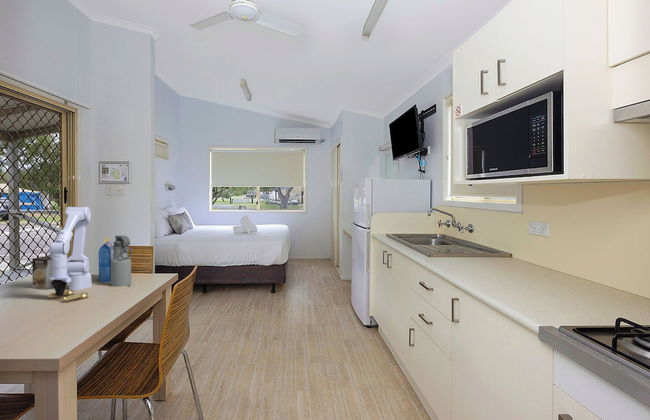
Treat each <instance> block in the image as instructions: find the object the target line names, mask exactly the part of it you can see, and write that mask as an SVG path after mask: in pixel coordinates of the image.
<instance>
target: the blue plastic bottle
mask: <svg viewBox="0 0 650 420" xmlns="http://www.w3.org/2000/svg"><path fill="white" fill-rule="evenodd" d="M112 259H114V245H113V244H112V243H111V242H109V237H108V236H107V237H106V238H104V244H103V245H102V246H101V247H100V248H99V250H98V281H99V282H103V283H106V282H111V260H112Z"/></svg>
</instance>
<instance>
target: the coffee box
mask: <svg viewBox="0 0 650 420" xmlns="http://www.w3.org/2000/svg"><path fill="white" fill-rule="evenodd" d="M31 261H32V262H31V263H32V264H31V267H32V269H31V270H32V273H31V274H32V278H31V279H32V289H39V290H40V289H43V290H49V289H52V288H54V287H53V285H52V284H51V282H52V281H55V280H54V279H53V280H50V279H49V275H52V258H51V257H50V256H39V257H35V258H34V257H33V258H32V260H31Z"/></svg>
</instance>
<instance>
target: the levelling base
mask: <svg viewBox="0 0 650 420" xmlns="http://www.w3.org/2000/svg"><path fill="white" fill-rule="evenodd" d="M63 297H65V296H64V295H62V296H57V297H52V298H50V297H48V298H47V299H48V300H52V301H57V302H60V303H65V304H70V303H74V302H78V301H82V300H86V299H89V298H90V299H91V297H90V296H88V297H87V298H84V299H78V298H75V299H71V300H67V301H63V300H62V298H63Z"/></svg>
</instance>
